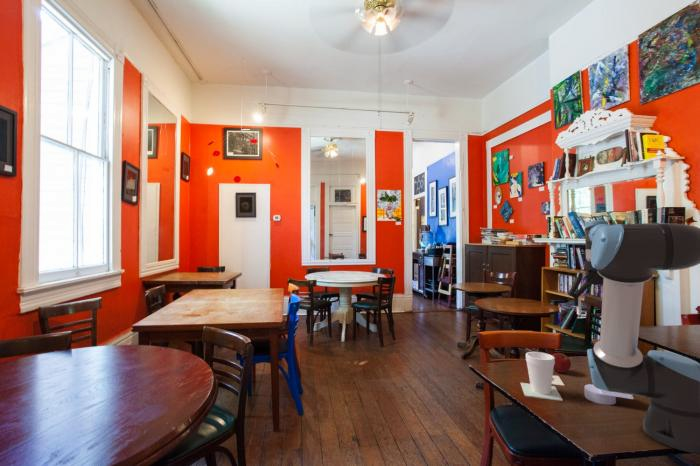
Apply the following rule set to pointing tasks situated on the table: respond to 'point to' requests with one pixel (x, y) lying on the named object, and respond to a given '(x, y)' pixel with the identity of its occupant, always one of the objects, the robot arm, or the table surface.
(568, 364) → the apple
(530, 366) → the foam cup
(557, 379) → the cream card
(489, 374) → the table surface
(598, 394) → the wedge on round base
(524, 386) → the sage mat
